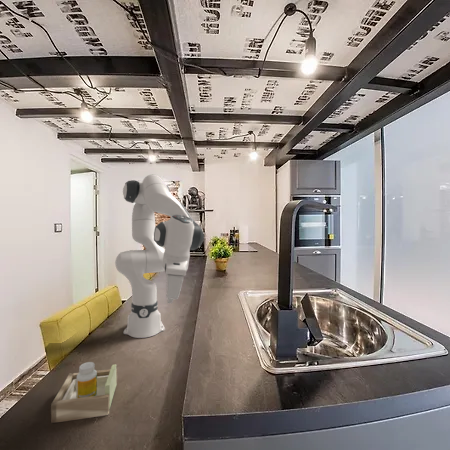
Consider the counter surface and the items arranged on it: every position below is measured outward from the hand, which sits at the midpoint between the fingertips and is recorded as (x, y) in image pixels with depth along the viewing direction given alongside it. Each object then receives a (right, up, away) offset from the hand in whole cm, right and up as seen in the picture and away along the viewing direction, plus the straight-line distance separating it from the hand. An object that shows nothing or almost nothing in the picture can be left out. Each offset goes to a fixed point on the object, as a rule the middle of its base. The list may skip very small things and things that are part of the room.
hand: (169, 301), depth 92 cm
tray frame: (-21, -25, -14) cm, 36 cm away
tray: (-21, -25, -14) cm, 36 cm away
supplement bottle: (-22, -25, -14) cm, 35 cm away
